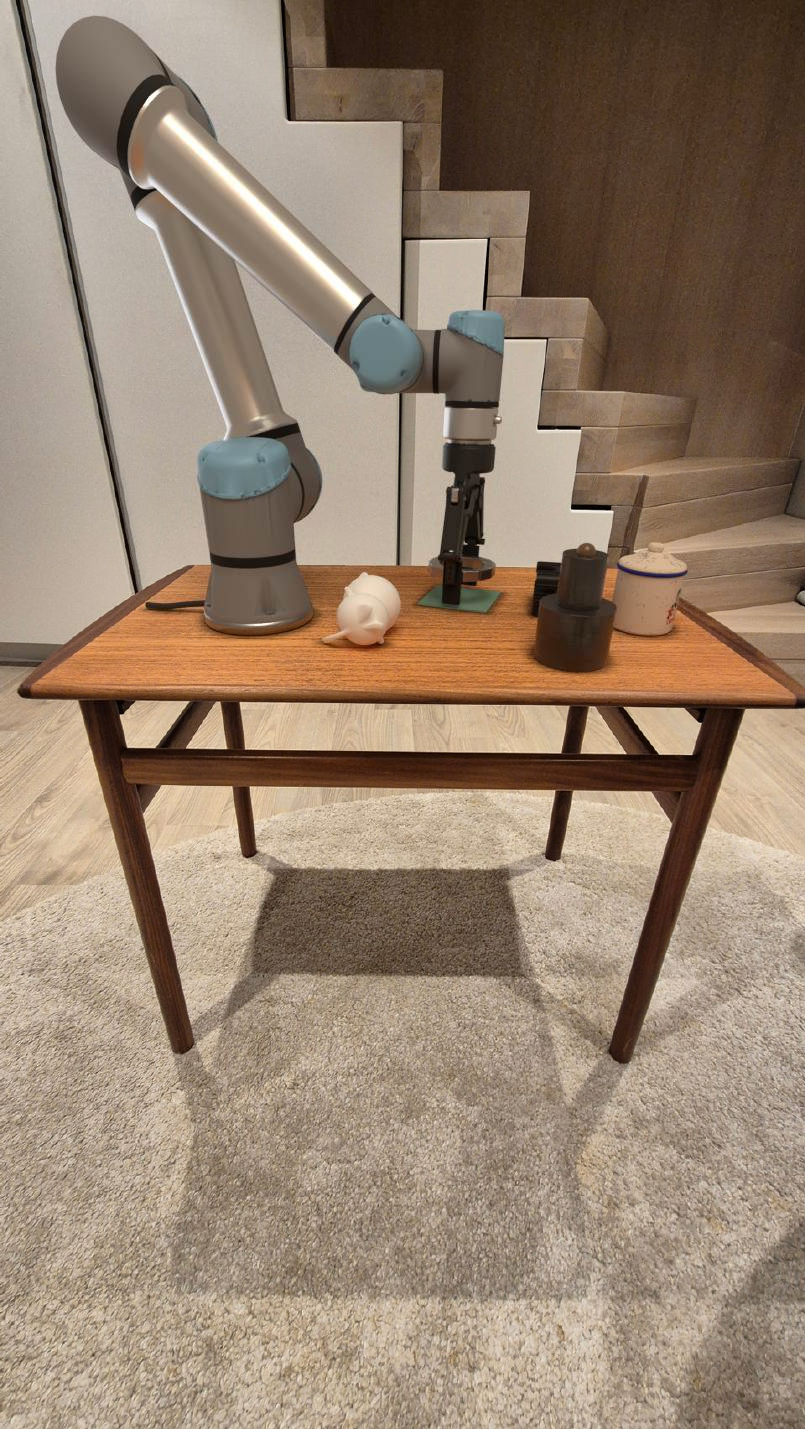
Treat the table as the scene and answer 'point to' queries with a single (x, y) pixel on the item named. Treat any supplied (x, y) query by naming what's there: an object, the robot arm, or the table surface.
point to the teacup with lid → (648, 591)
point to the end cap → (545, 582)
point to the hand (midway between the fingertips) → (459, 593)
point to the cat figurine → (367, 610)
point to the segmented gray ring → (479, 571)
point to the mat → (463, 599)
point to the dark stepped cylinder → (576, 615)
